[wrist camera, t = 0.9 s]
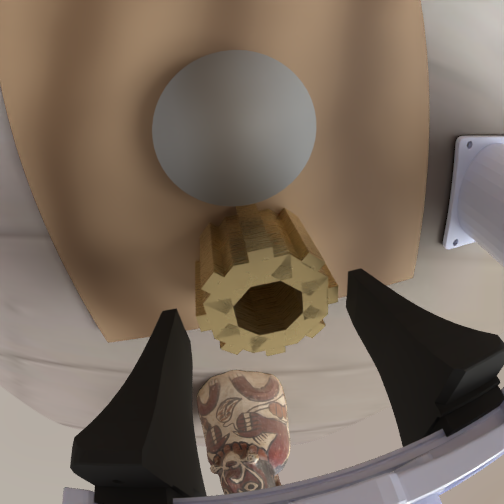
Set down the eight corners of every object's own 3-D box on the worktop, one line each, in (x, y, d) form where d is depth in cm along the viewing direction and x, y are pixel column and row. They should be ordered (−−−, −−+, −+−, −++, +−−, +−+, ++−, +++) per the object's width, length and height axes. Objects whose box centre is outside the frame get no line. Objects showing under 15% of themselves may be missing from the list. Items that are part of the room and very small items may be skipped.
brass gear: (307, 192, 15) (339, 233, 11) (312, 288, 18) (335, 339, 15) (182, 216, 14) (177, 266, 11) (210, 310, 18) (214, 366, 14)
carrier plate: (389, -76, 8) (439, -99, 4) (404, 267, 20) (439, 311, 16) (1, -12, 7) (-51, -22, 3) (110, 329, 19) (99, 385, 15)
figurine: (263, 357, 23) (299, 513, 13) (293, 396, 26) (327, 517, 16) (181, 387, 23) (188, 530, 13) (223, 420, 27) (239, 536, 17)
